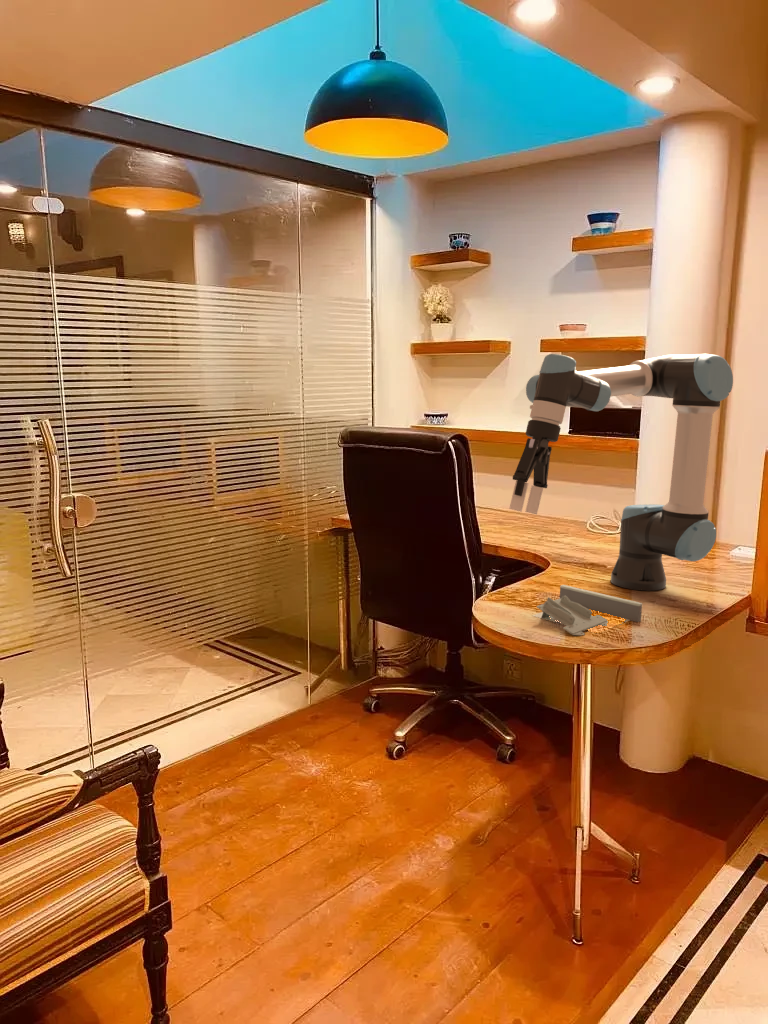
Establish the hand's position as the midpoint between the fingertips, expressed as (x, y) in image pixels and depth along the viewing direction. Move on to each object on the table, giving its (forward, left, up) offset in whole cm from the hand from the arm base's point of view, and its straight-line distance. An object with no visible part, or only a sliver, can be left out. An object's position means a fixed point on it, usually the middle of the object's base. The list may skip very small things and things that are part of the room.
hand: (523, 512), depth 181 cm
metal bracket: (-10, +8, -27) cm, 30 cm away
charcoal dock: (-17, +8, -27) cm, 33 cm away
